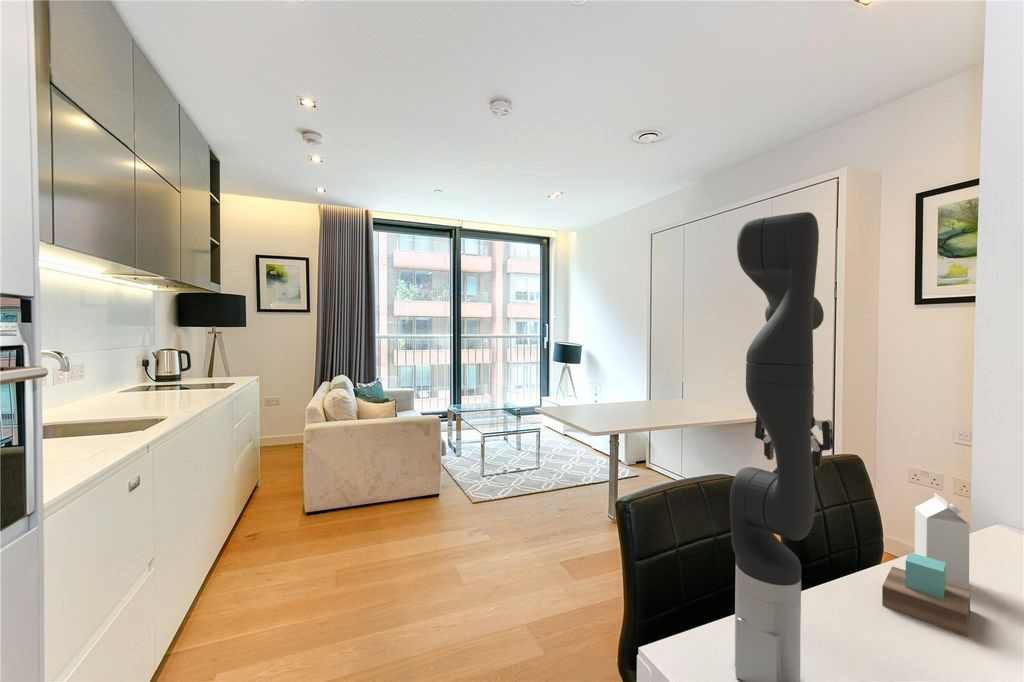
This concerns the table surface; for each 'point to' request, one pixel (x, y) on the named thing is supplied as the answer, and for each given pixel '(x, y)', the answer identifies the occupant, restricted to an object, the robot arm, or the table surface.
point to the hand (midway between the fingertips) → (791, 463)
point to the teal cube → (926, 575)
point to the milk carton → (943, 538)
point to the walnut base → (928, 603)
